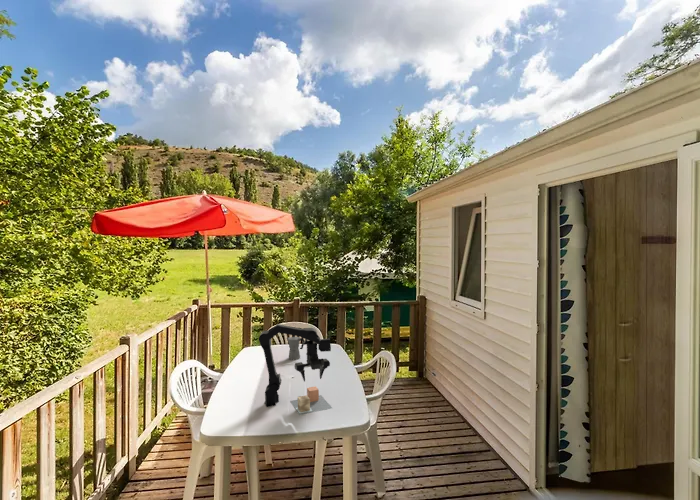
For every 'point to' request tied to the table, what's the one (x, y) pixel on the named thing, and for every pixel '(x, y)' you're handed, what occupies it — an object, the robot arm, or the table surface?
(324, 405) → the board
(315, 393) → the terracotta block
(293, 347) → the coffeepot
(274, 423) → the table surface
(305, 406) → the maple block
